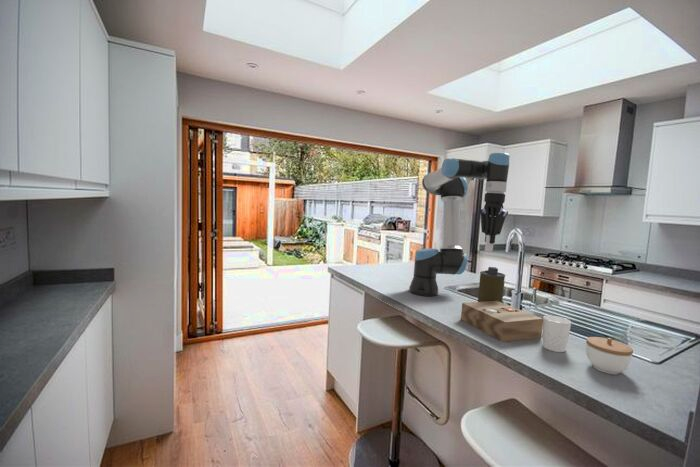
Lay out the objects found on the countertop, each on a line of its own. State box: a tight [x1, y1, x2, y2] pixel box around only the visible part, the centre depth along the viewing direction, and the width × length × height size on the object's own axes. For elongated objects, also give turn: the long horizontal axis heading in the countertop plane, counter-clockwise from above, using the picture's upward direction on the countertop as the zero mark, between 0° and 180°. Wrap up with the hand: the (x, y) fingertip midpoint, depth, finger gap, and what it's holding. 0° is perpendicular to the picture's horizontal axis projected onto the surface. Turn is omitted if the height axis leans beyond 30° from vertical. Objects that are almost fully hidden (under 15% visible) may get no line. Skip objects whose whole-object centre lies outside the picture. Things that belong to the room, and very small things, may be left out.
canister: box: [477, 266, 506, 303], centre depth 145 cm, size 11×10×20 cm
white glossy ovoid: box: [486, 309, 497, 314], centre depth 123 cm, size 4×4×6 cm
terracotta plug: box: [504, 308, 515, 312], centre depth 126 cm, size 4×4×6 cm
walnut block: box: [460, 301, 543, 343], centre depth 125 cm, size 22×18×7 cm
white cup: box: [541, 314, 572, 353], centre depth 109 cm, size 8×8×10 cm
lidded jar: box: [585, 336, 634, 375], centre depth 95 cm, size 11×11×9 cm
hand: (488, 250), depth 132 cm, fingers closed
